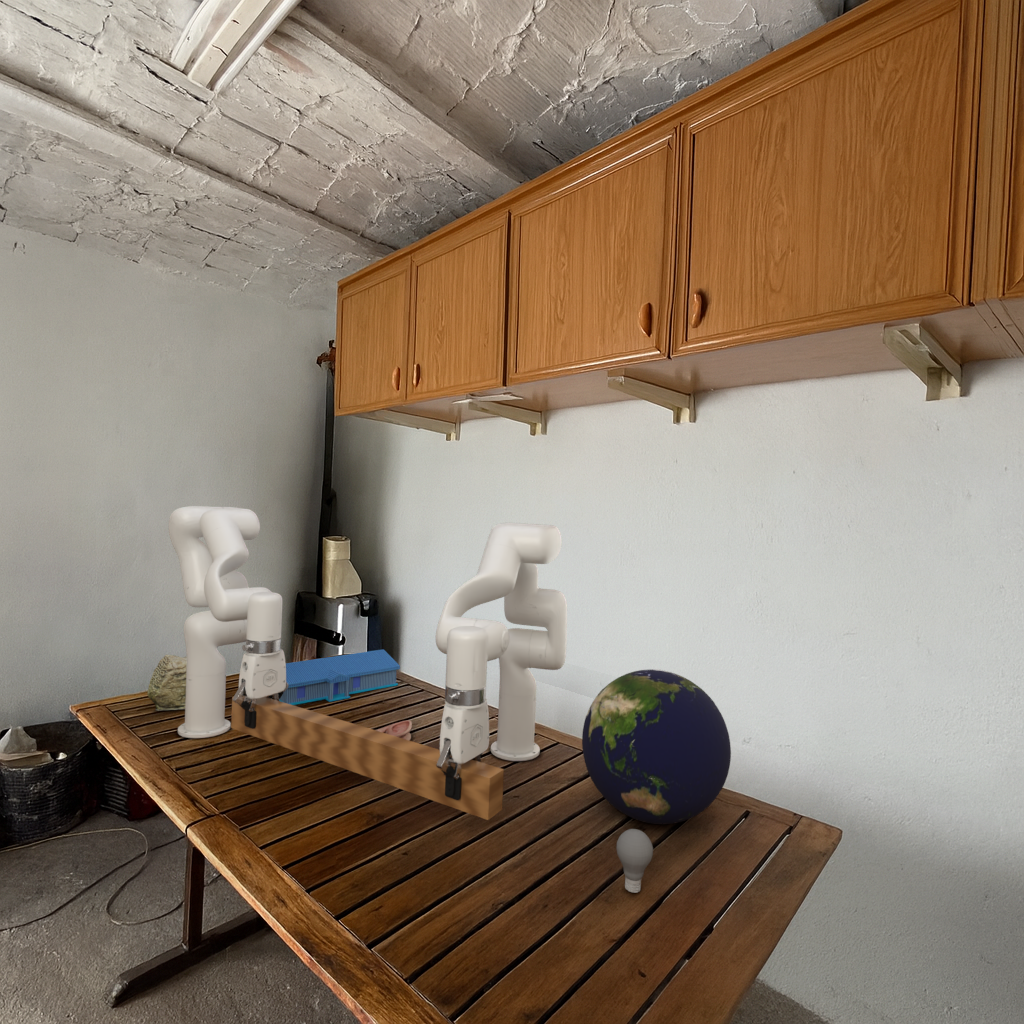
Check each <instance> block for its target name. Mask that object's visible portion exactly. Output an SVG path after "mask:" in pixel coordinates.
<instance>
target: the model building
mask: <svg viewBox="0 0 1024 1024" xmlns="http://www.w3.org/2000/svg"><path fill="white" fill-rule="evenodd" d="M285 663H286V682H287V683H288V685H289V686H288V688H287V689H286V690H285V692H283V695H282V696H281V698H280V699H279V701H281V702H284V703H287V704H291V705H294V706H297V705H302V704H307V703H312V702H317V701H323V700H325V701H327V702H329V703H330V702H335V701H341V700H346V699H347V700H348V699H350V698H351V695H353V694H359V693H364V692H365V693H366V692H369V691H373V690H381V689H385V688H390V687H391V688H392V687H395V686H399V683H398V682H397V670H400V669H401V665H400V664H399V663H398V662H397V661H396V660H395V659H394V658H393V657H392V656H391V654H389V653H388V652H387V651H386V650H385V649H376V650H368V651H363V652H356V653H349V654H342V655H341V654H340V655H335V656H329V657H328V656H327V657H321V658H315V659H314V658H313V659H307V660H300V661H293V662H285Z"/></svg>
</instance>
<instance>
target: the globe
mask: <svg viewBox="0 0 1024 1024" xmlns="http://www.w3.org/2000/svg"><path fill="white" fill-rule="evenodd" d="M581 748H582V756H583V759H584V764H585V767H586V770H587V772H588V775H589V777H590V779H591V781H592V784H593V785H594V786H595V788H596V789H597V791H598V793H600V795H601V796H602V797H603V798H604V799H605V800H606V801H607V802H608V803H609V805H611V806H612V807H613V808H614V809H616V810H618V812H620V813H622V814H623V815H625V816H627V817H629V818H632V819H634V820H636V821H639V822H643V823H646V824H652V825H672V824H673V825H674V824H678V823H682V822H685V821H688V820H690V819H692V818H694V817H697V816H698V815H699V814H700V813H702V812H704V811H705V810H706V809H707V808H708V807H709V806H710V805H712V803H713V802H714V801H715V800H716V799H717V798H718V796H719V795H720V793H721V791H722V789H723V788H724V786H725V783H726V780H727V778H728V776H729V771H730V767H731V760H732V759H731V758H732V750H731V749H732V747H731V738H730V734H729V731H728V727H727V724H726V721H725V719H724V717H723V715H722V712H721V711H720V709H719V708H718V706H717V704H716V703H715V701H714V700H713V699H712V697H710V696H709V694H708V693H707V692H705V690H704V689H702V688H701V687H700V686H698V685H697V684H696V683H694V682H693V681H692V680H690V679H688V678H686V677H684V676H683V675H680V674H677V673H674V672H672V671H668V670H667V671H666V670H663V669H654V668H653V669H640V670H635V671H630V672H627V673H625V674H623V675H621V676H618V677H617V678H615V679H613V680H612V681H611V682H609V683H608V684H606V685H605V686H604V687H603V688H602V689H601V690H600V691H599V693H598V694H597V695H596V696H595V698H594V699H593V701H592V702H591V704H590V706H589V708H588V710H587V713H586V715H585V719H584V722H583V728H582V737H581Z"/></svg>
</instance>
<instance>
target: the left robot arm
mask: <svg viewBox="0 0 1024 1024" xmlns="http://www.w3.org/2000/svg"><path fill="white" fill-rule="evenodd" d="M260 530H261V523H260V518H259V517H258V515H257V514H256V512H255V511H253V510H252V509H250V508H242V507H236V506H211V505H188V506H182V507H178V508H175V509H174V510H173V511H172V512H171V513H170V516H169V519H168V534H169V538H170V542H171V544H172V547H173V549H174V551H175V553H176V555H177V558H178V561H179V566H180V573H181V581H182V587H183V593H184V597H185V601H186V603H187V604H188V606H190V607H192V608H209V610H203V611H198V612H194V613H193V614H191V615H189V616H188V617H187V618H186V619H185V621H184V623H183V637H184V641H185V642H184V643H185V651H186V652H185V653H186V657H187V668H186V701H185V709H184V722H182V724H180V725H179V726H178V727H177V734H178V735H179V736H180V737H182V738H188V739H207V738H212V737H216V736H220V735H222V734H224V733H227V732H228V731H230V729H231V721H230V720H228V719H226V718H225V715H226V692H227V691H226V689H227V661H226V658H225V657H224V656H223V654H222V653H221V652H220V651H219V650H218V647H222V646H228V645H236V644H240V643H245V644H243V645H242V647H241V648H242V651H244V653H243V656H242V659H241V664H240V670H239V677H238V689H237V690H236V692H235V694H234V697H233V696H232V697H233V699H232V698H231V701H232V700H233V701H234V702H235V703H237V704H239V705H240V706H241V707H242V709H244V710H245V719H244V723H245V726H246V727H249V728H252V729H254V728H255V727H256V714H257V712H256V711H254V709H255V705H256V701H257V699H260V698H263V697H267V698H271V699H274V700H277V701H279V699H280V698H281V696H282V695H283V692H285V690H286V689H287V688H288V686H289V685H288V683H287V682H286V663H287V662H286V656H285V652H284V649H282V648H281V645H282V624H283V623H282V621H283V597H282V595H281V594H280V593H278V592H273V591H271V590H270V589H269V588H267V587H263V586H255V587H254V586H253V587H250V586H249V582H248V580H247V578H246V576H245V575H244V574H243V572H241V571H238V569H239V568H241V567H242V566H243V565H245V564H246V563H247V561H248V559H249V557H250V551H249V548H248V547H247V545H246V541H252V540H255V539H256V538H257V537H258V536H259V533H260V532H261V531H260ZM200 538H203V539H204V541H205V543H204V542H203V541H202V540H200ZM243 696H245V699H244V700H243V699H242V697H243ZM250 700H251V702H250ZM249 702H250V704H249Z"/></svg>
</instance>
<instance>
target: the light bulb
mask: <svg viewBox="0 0 1024 1024" xmlns="http://www.w3.org/2000/svg"><path fill="white" fill-rule="evenodd" d="M615 849H616V854H617V857H618V859H619V861H620V863H621V865H622V867H623V873H624V874H623V875H624V876H625V878H624V888H625V890H627V891H628V892H630V893H634V894H635V893H639V892H640V891H641V889H642V887H641V886H642V879H643V877H644V875H645V871H646V868H647V867H648V866H649V864H650V863H651V861H652V859H653V855H654V847H653V843H652V841H651V838H649V836H648V835H647V834H646V833H645V832H643V831H642V830H641V829H636V828H629V829H627V830H625V831H623V832H622V833H621V834H620V835H619V837H618V839H617V841H616V847H615Z"/></svg>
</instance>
